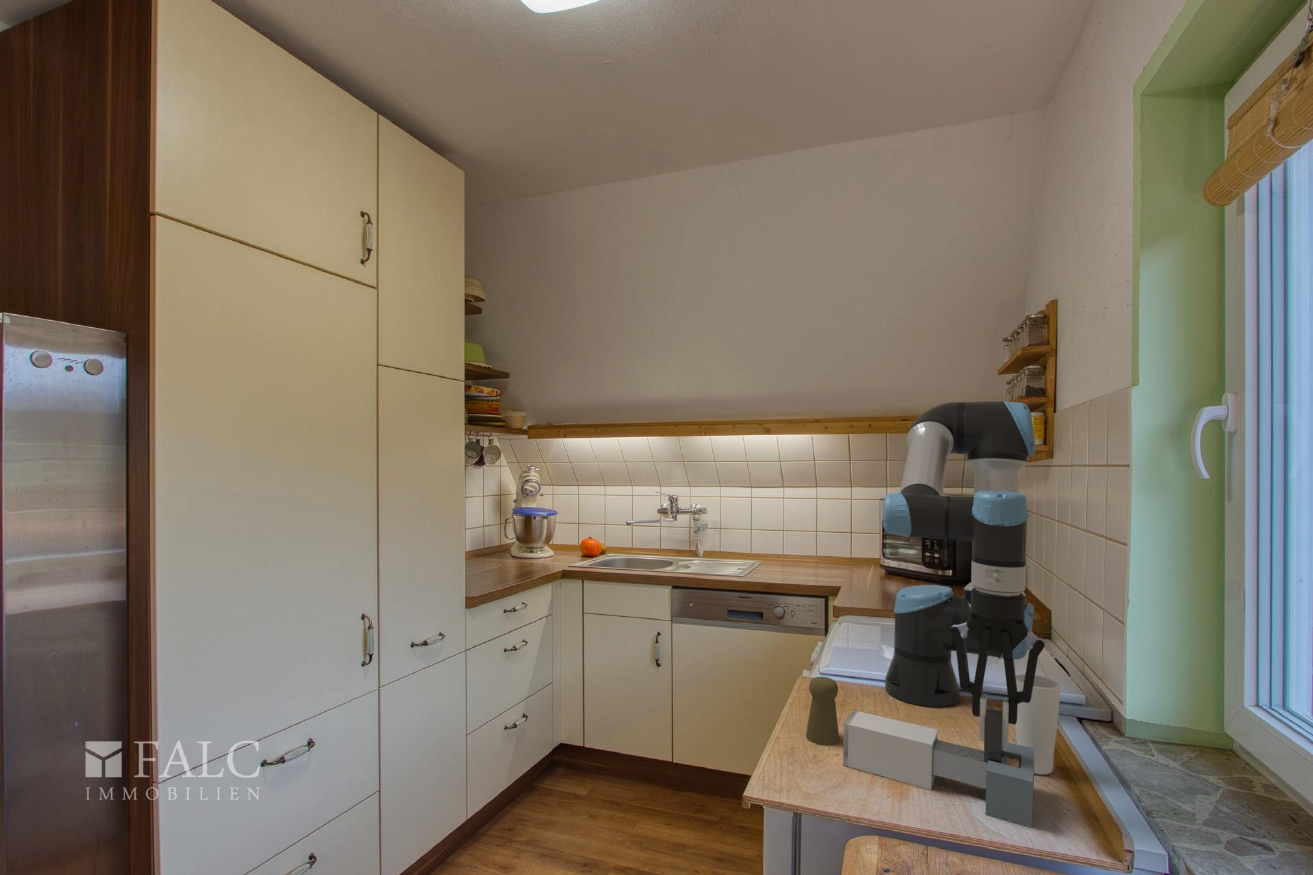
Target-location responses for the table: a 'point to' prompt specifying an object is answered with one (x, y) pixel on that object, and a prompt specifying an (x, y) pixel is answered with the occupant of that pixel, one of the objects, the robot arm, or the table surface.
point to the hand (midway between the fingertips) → (993, 739)
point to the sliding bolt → (972, 754)
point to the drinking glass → (1039, 721)
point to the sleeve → (889, 748)
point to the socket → (1011, 786)
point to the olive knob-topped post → (823, 712)
